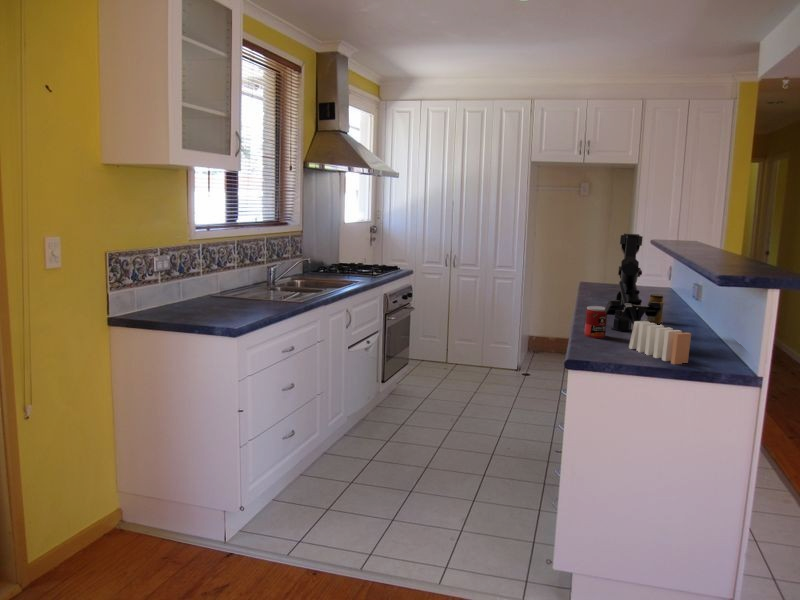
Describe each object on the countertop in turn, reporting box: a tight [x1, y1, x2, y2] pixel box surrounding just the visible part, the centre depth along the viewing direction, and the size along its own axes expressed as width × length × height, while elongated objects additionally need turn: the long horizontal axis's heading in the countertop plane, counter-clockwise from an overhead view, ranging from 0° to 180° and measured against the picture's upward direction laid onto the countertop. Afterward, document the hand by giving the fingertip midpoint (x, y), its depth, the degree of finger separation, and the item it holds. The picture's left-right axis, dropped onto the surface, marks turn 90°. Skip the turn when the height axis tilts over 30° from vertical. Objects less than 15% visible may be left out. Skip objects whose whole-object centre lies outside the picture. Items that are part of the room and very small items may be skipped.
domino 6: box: [670, 332, 692, 365], centre depth 214 cm, size 2×6×10 cm, turn 111°
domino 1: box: [628, 320, 650, 350], centre depth 232 cm, size 2×6×10 cm, turn 112°
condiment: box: [646, 294, 664, 326], centre depth 285 cm, size 7×8×12 cm
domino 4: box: [652, 327, 674, 359], centre depth 221 cm, size 2×6×10 cm, turn 112°
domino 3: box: [644, 324, 665, 356], centre depth 225 cm, size 2×6×10 cm, turn 112°
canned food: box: [584, 305, 608, 339], centre depth 251 cm, size 8×8×11 cm
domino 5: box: [661, 329, 683, 362], centre depth 218 cm, size 2×6×10 cm, turn 111°
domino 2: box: [636, 323, 657, 353], centre depth 229 cm, size 2×6×10 cm, turn 111°
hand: (637, 328), depth 232 cm, fingers closed
